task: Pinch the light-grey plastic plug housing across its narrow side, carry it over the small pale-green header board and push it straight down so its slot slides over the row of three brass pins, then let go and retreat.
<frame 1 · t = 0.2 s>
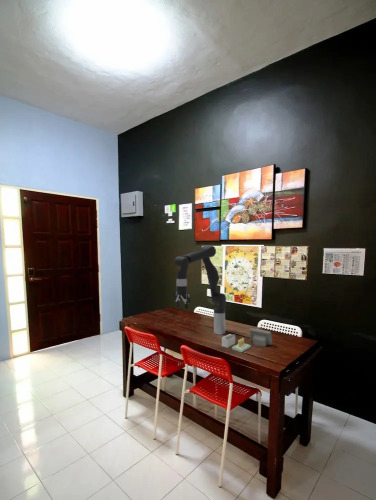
hand: (181, 308, 169), 29 cm above the table, fingers open, 8 cm apart
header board: (241, 348, 170), on the table
plug housing: (228, 344, 176), on the table
digital clock: (260, 344, 178), on the table
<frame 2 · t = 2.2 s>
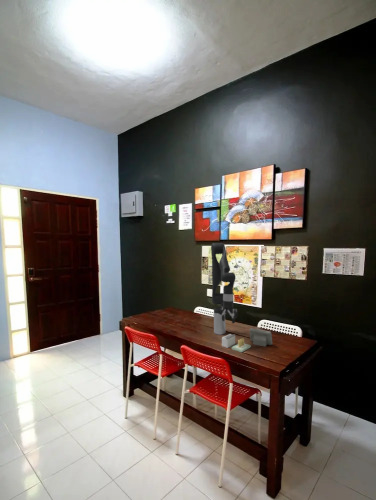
hand: (228, 321, 176), 17 cm above the table, fingers open, 8 cm apart
nothing on the table moved.
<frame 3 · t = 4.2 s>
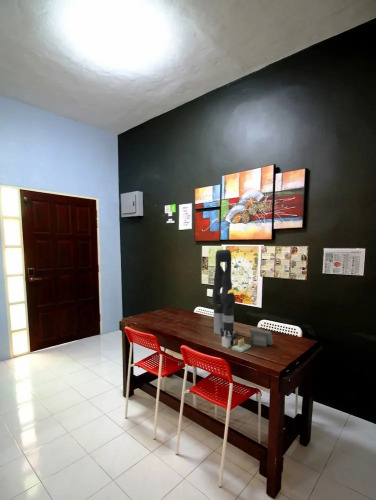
hand: (228, 343, 176), 1 cm above the table, fingers closed on plug housing, 5 cm apart
plug housing: (228, 344, 176), on the table, touching gripper
everything else where it was.
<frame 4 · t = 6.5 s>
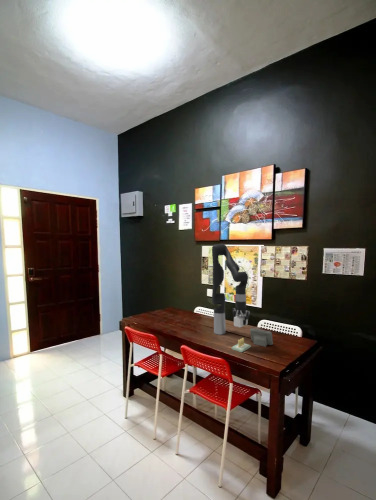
hand: (240, 324, 170), 17 cm above the table, fingers closed on plug housing, 5 cm apart
plug housing: (240, 325, 170), point 16 cm above the table, touching gripper
everything else where it was.
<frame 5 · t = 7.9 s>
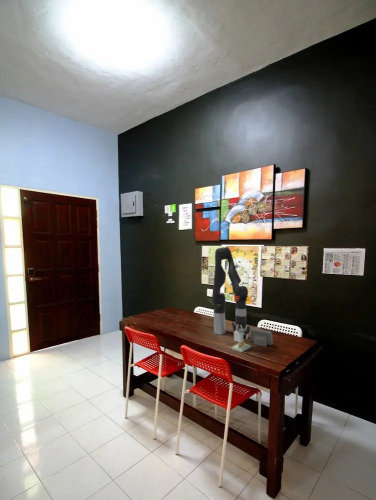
hand: (241, 338, 170), 7 cm above the table, fingers closed on plug housing, 5 cm apart
plug housing: (240, 339, 170), point 6 cm above the table, touching gripper
everything else where it was.
when the fingers open (3 cm above the table, at t = 9.1 s): plug housing stays where it is, resting on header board.
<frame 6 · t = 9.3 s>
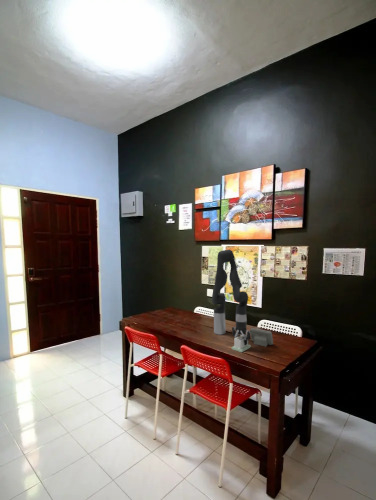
hand: (241, 343, 170), 3 cm above the table, fingers open, 6 cm apart
plug housing: (241, 346, 170), point 2 cm above the table, touching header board
everything else where it was.
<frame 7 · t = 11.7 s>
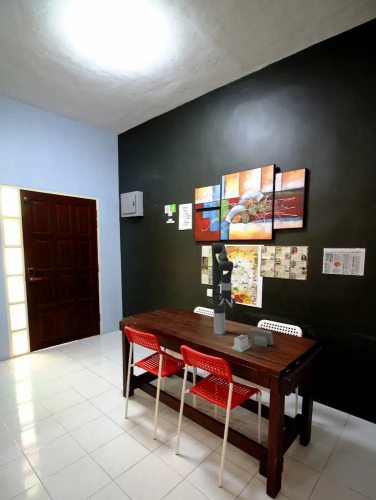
hand: (226, 311, 173), 25 cm above the table, fingers open, 8 cm apart
nothing on the table moved.
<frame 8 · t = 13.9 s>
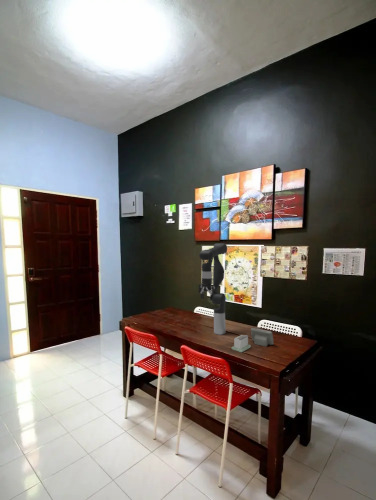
hand: (206, 299, 177), 33 cm above the table, fingers open, 8 cm apart
at the end: plug housing 0.1 cm off-centre on the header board, point 1.6 cm above the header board's base; plug housing tilted 0°; the gripper is holding nothing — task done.
